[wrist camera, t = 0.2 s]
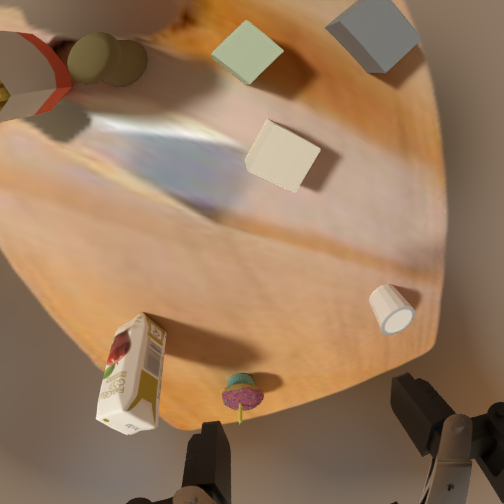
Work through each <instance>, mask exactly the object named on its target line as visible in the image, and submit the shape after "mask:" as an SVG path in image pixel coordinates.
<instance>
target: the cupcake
mask: <svg viewBox="0 0 504 504" xmlns="http://www.w3.org/2000/svg"><path fill="white" fill-rule="evenodd" d="M222 398H223V402H224V403H225V405H226V406H227V407H229V408H232V409H234V410H239V424H241V422H242V410H243V411H245V410H250V409H253V408H254V407H256V406H257V405H259V404H260V403H261V402H262V400H263V398H264V394H263V391H262V389H261V388H260V386H258V385H255V384H254V382H253V380H252V378H251V377H250V376H249V375H247V374H235V375H233V376H231V377H230V379H229V382H228V385H227V387H226V388H225V390H224V392H223V393H222Z"/></svg>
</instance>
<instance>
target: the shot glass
mask: <svg viewBox="0 0 504 504" xmlns="http://www.w3.org/2000/svg"><path fill="white" fill-rule="evenodd" d="M369 303H370V305H371V307H372V310H373V312H374V314H375V317H376V319H377V321H378V324H379V326H380V328H381V331H382V333H383V334H385V335H394V334H397V333H399V332H401V331H402V330H404V329H405V328H406V327H407V326H409V325H410V323H411V322H412V320H413V319H414V316H415V310H414V308H413V307H412V306H411V305H410V304H409V303H408V302H407V300H406V299H405V298H404V297H403V296H402V295H401V294H400V293H399V292H398V290H397V289H396V288H395V287H394V286H393V285H391V284H385V285H381V286H380V287H378V288H376V289H375V290H374V291H373V292H372V294H371V296H370V299H369Z"/></svg>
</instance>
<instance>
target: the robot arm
mask: <svg viewBox="0 0 504 504" xmlns="http://www.w3.org/2000/svg"><path fill="white" fill-rule="evenodd" d="M391 407H392V410H393V412H394V413H395V415H396V416H397V418H398V420H399V421H400V423H401V424H402V426H403V427H404V429H405V430H406V432H407V433H408V435H409V437H410V438H411V440H412V441H413V443H414V444H415V446H416V448H417V449H418V451H419V452H420V454H421V455H422V457H423V456H425V455H427V454H429V453H430V454H431V455H432V460H431V464H430V468H429V472H428V475H427V479H426V483H425V487H424V489H423V492H422V495H421V498H420V500H419V503H418V504H465V503H466V498H467V493H468V488H469V482H470V476H471V469H472V461H471V459H474V458H475V460H476V462H477V463H478V465H479V466H480V468H481V469H482V471H483V472H484V474H485V476H486V477H487V479H488V480H489V481H490V483H491V485H492V487H493V488H494V490H495V491H496V493H497V495H498V497H499V498H500V500H501V502H502V503H503V504H504V402H498V403H495V404H493V405H492V406H491V407H490V408H489V410H488V412H487V414H484V415H480V416H476V417H472V418H470V417H468V416H467V415H465V414H456V413H455V412H454V411H453V410H452V408H451V407H450V406H449V405H448V404H447V403H446V402H445V400H444V399H443V398H442V397H441V396H440V395H439V394H438V393H437V391H436V390H434V388H433V387H432V386H431V385H430V384H429V382H427V381H425V380H422V379H421V378H418V379H416V380H415V379H414V378H413V377H412V376H411V375H410V373H408V372H406V373H404V374H401V375H399V376H396V377H393V379H392V386H391ZM126 504H231V451H230V445H229V441H228V439H227V437H226V434H225V432H224V430H223V427H222V425H221V423H220V421H213V422H204V423H203V424H202V431H201V434H194V435H193V436H192V438H191V439H190V441H189V442H188V447H187V454H186V461H185V467H184V474H183V482H182V487H181V489H179V490H178V491H177V492H176V493H175V494H174V496H173V497H171V498H168V499H165V500H161V501H157V502H151V501H150V500H148V499H146V498H134V499H132V500H130V501H129V502H128V503H126ZM392 504H398V503H397V502H394V503H392Z"/></svg>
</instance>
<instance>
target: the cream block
mask: <svg viewBox="0 0 504 504" xmlns="http://www.w3.org/2000/svg"><path fill="white" fill-rule="evenodd" d="M320 150H321V149H320V148H319V147H317V146H316V145H314V144H313V143H312V142H310V141H308V140H307V139H305V138H303V137H301V136H299V135H298V134H296V133H294V132H292V131H290V130H288V129H286V128H284V127H283V126H281V125H279V124H277V123H275V122H273V121H271V120H269V119H267V120H266V121H265V123H264V125H263V127H262V129H261V131H260V132H259V134H258V136H257V138H256V140H255V142H254V144H253V145H252V147H251V149H250V151H249V153H248V155H247V157H246V159H245V164H246V166H247V169H248V172H250V173H252V174H255V175H257V176H259V177H261V178H263V179H265V180H268V181H270V182H272V183H274V184H276V185H278V186H280V187H282V188H284V189H287V190H289V191H291V192H293V193H296V191H297V189H298V188H299V186H300V184H301V183H302V181H303V179H304V177H305V176H306V174H307V172H308V171H309V169H310V167H311V166H312V164H313V162H314V160H315V159H316V157H317V155H318V154H319V152H320Z"/></svg>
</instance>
